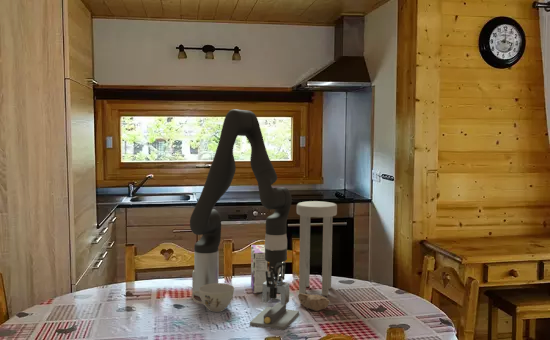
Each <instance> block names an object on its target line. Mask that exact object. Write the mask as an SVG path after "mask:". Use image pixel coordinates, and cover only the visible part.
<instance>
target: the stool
mask: <svg viewBox="0 0 550 340" xmlns="http://www.w3.org/2000/svg"><path fill="white" fill-rule="evenodd" d="M296 214H297V215H298V216H299V218H300V219H299V263H298V265H299V267H298V269H299V271H298V274H299V277H298V278H299V279H298V283H299V284H298V294H299V293H302V294H306V293H307V288H309V287H310V275H311V274H310V269H311V267H310V264H311V263H310V262H311V261H310V260H311V259H310V257H311V218H322V259H321V260H322V261H321V262H322V264H321V265H322V266H321V268H322V270H321V271H322V272H321V296H326V297H327V296H329V289H331V288H332V262H333V261H332V259H333V258H332V257H333V256H332V255H333V217H335V216H337V215H338V205H337V203H335V202H329V201H318V200H313V201H312V200H309V201H302V202H301V201H300V202H298V203H297V204H296Z"/></svg>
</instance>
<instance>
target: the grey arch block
mask: <svg viewBox="0 0 550 340" xmlns="http://www.w3.org/2000/svg"><path fill="white" fill-rule="evenodd" d="M271 284H272V283H271ZM276 288H277V293H281V294H280V303H281V305H286V306H287V304H288V303H289V302H290V282H288V281H287V282H286V281H285V282H284V281H283V282H278V281H277V287H276ZM271 300H272V298H270V287H267V283H266V282H264V283H263V293H262V303H263V304H268V303H269V301H271Z"/></svg>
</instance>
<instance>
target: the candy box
mask: <svg viewBox="0 0 550 340" xmlns="http://www.w3.org/2000/svg"><path fill="white" fill-rule="evenodd" d="M250 264H251V266H250V274H251V275H250V283H251V289H252V292H253V294H263V283H264V282H266V274H265V272H266V271H268V269H269V265H268V264H269V262H267V261H266V260H265V244H251V246H250Z"/></svg>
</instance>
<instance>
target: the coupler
mask: <svg viewBox="0 0 550 340" xmlns="http://www.w3.org/2000/svg"><path fill="white" fill-rule="evenodd" d="M299 315H300V310H296V309H295V310H294V309H287V304H286V305H281V302H277V303H276V304H274V305H273V306H272V307H271V306H266V307H265V308H264V309H263V310H262V311H260V312H259V313H258V314H257V315H256V316H255V317H254V318H253V319H251V320H250V321H249V325H250V326H253V327H254V326H255V327H259V328H260V327H261V328H267V329H275V330H279V331H280V330H281V331H285V329H287V328H288V327H289V325H290V324H291V323H292V322H293V321H294V320H295V319H296V318H297V317H298V316H299Z"/></svg>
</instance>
